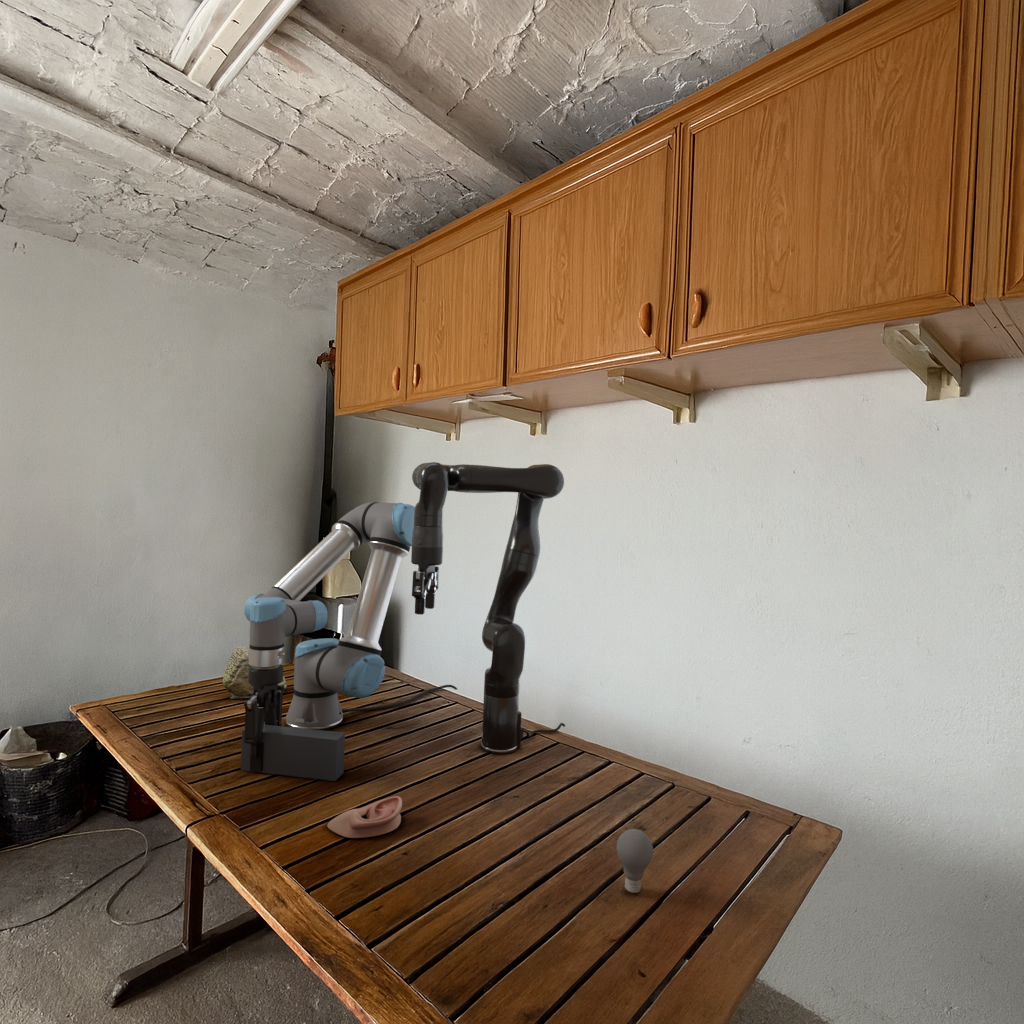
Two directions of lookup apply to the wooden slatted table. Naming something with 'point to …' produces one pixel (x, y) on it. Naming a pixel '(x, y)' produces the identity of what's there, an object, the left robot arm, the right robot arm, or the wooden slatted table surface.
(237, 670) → the fossil
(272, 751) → the bar
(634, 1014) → the wooden slatted table surface
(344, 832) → the anatomical model
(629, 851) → the light bulb
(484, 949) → the wooden slatted table surface
